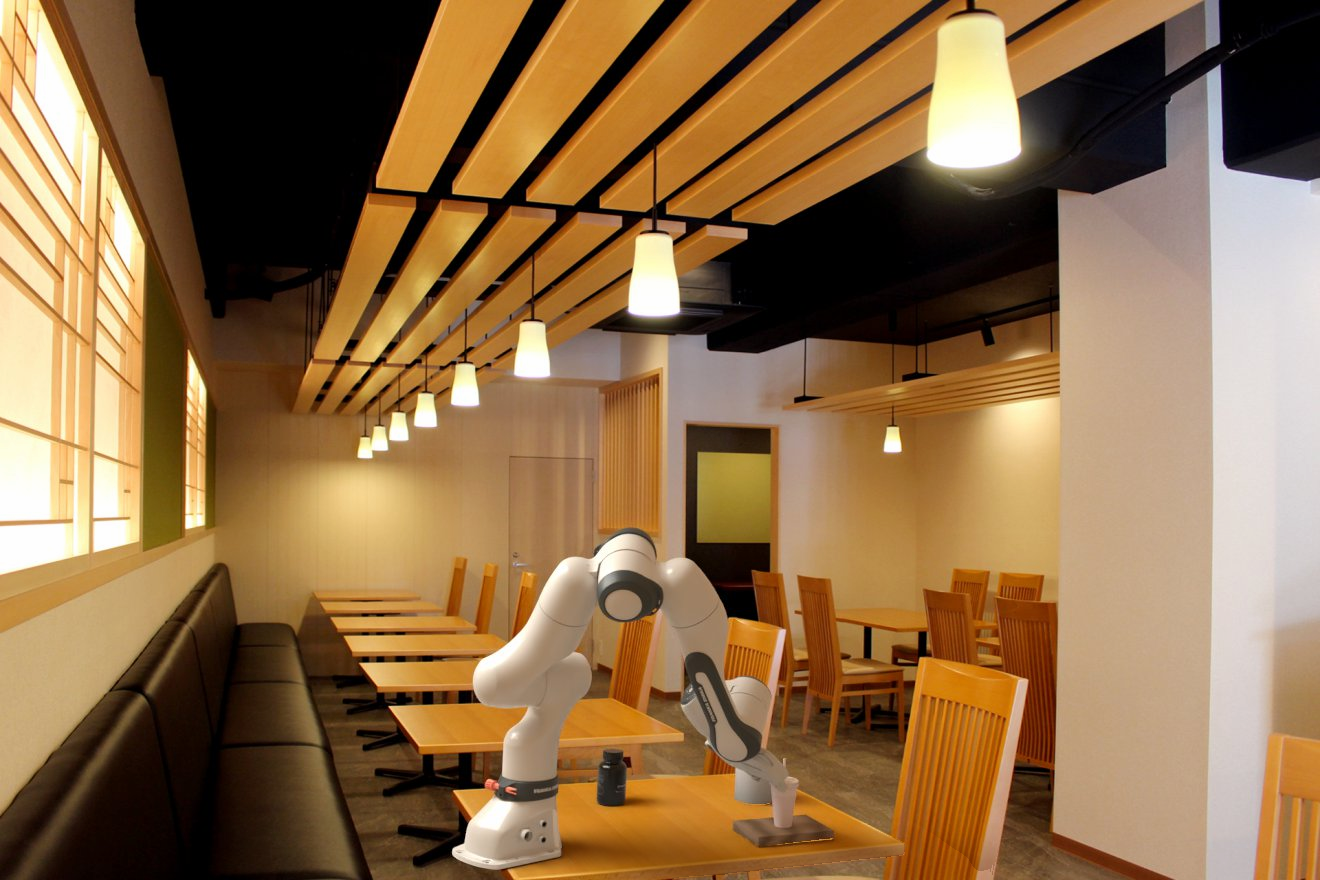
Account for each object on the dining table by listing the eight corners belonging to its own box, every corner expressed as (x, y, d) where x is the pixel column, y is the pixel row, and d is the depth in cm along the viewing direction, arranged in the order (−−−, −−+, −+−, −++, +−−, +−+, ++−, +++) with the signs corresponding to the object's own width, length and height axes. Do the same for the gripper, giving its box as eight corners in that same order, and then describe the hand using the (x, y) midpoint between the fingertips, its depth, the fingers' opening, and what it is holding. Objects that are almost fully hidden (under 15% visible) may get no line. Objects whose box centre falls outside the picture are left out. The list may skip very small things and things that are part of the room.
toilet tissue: (791, 798, 256) (792, 762, 256) (754, 807, 247) (755, 770, 247) (763, 790, 262) (764, 755, 263) (726, 799, 253) (727, 762, 254)
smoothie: (797, 822, 230) (799, 756, 230) (798, 830, 223) (800, 763, 224) (767, 820, 230) (769, 754, 231) (768, 828, 224) (769, 761, 225)
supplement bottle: (624, 807, 243) (626, 754, 244) (595, 806, 243) (597, 753, 244) (626, 799, 250) (628, 747, 251) (597, 798, 250) (599, 746, 251)
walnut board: (758, 847, 218) (758, 837, 218) (732, 830, 229) (733, 820, 229) (833, 839, 224) (834, 830, 224) (805, 823, 235) (805, 814, 235)
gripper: (771, 739, 215) (809, 784, 219) (718, 720, 233) (754, 762, 237) (752, 763, 212) (791, 808, 216) (700, 742, 230) (736, 784, 234)
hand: (771, 783), depth 227 cm, fingers open, 8 cm apart
